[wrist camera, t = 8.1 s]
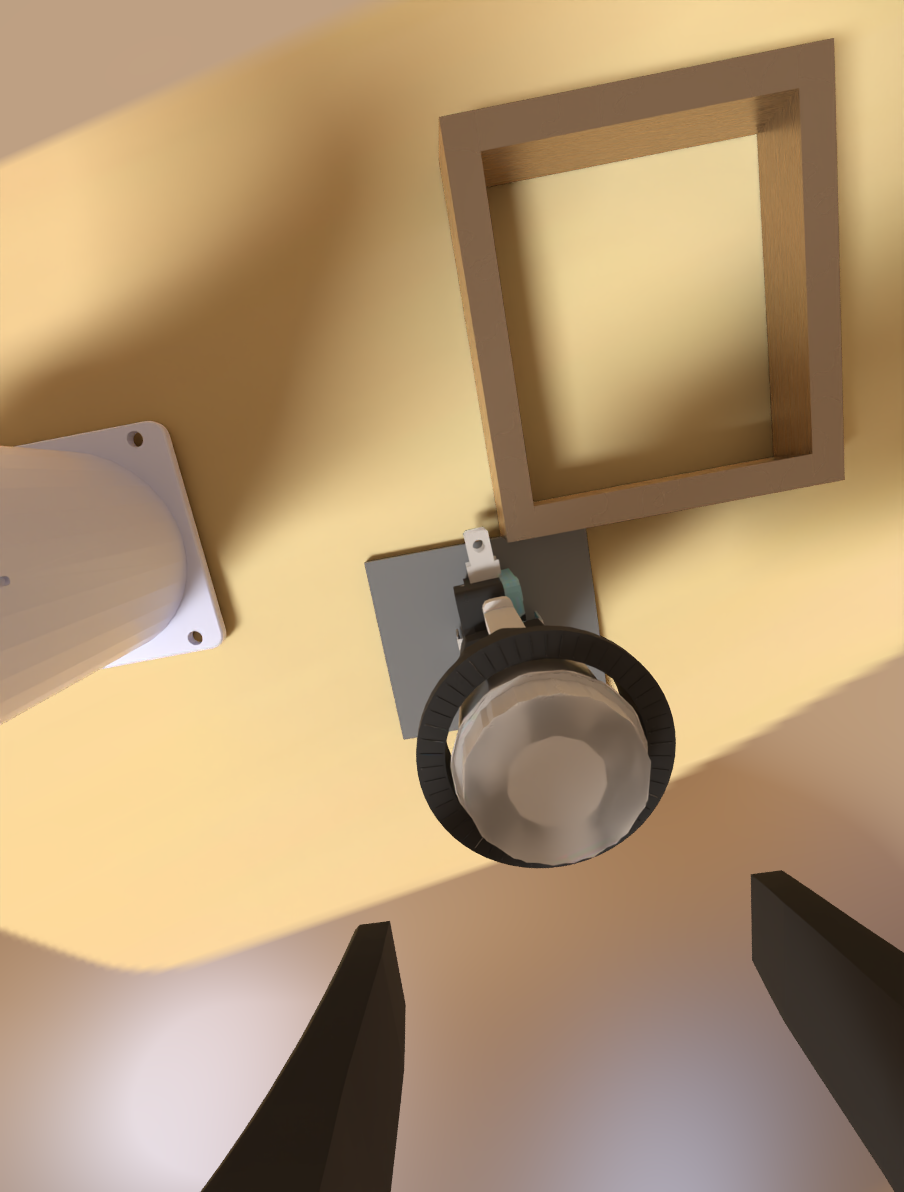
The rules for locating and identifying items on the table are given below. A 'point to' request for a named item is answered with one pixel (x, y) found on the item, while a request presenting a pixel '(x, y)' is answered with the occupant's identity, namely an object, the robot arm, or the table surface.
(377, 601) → the mat
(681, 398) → the table surface
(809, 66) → the frame
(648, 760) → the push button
